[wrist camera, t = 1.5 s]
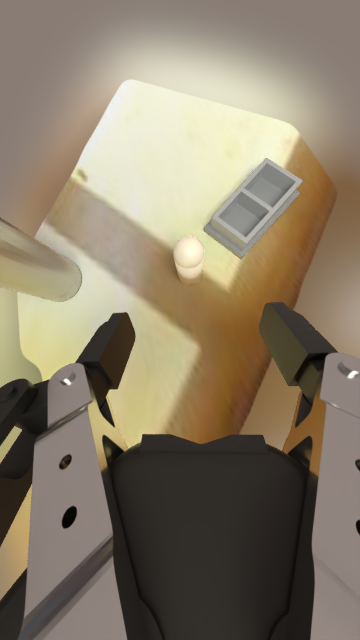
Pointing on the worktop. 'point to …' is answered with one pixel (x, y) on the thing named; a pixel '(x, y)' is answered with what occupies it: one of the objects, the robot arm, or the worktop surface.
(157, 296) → the worktop surface
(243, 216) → the grey divided tray
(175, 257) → the cream capsule shape
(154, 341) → the worktop surface
